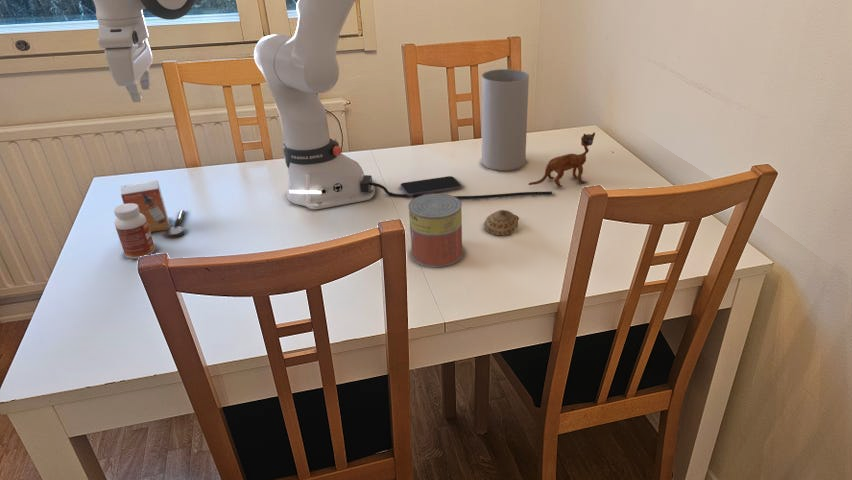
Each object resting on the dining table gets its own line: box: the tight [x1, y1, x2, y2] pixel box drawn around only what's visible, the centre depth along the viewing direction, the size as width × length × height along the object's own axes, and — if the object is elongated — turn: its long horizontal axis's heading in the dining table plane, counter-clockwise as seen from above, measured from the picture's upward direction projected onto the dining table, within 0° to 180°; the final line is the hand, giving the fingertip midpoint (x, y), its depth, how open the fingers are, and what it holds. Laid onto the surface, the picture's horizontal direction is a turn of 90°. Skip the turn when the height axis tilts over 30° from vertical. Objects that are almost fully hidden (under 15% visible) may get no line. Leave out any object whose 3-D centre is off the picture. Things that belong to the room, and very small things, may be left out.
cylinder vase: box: [481, 68, 530, 172], centre depth 179 cm, size 12×12×25 cm
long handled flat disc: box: [164, 209, 185, 239], centre depth 154 cm, size 13×4×1 cm, turn 13°
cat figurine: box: [527, 131, 596, 188], centre depth 170 cm, size 18×7×14 cm, turn 109°
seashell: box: [483, 209, 520, 236], centre depth 152 cm, size 8×6×8 cm
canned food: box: [407, 192, 464, 268], centre depth 139 cm, size 11×11×12 cm
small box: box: [120, 179, 171, 233], centre depth 150 cm, size 8×6×10 cm
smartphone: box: [400, 175, 462, 196], centre depth 171 cm, size 7×1×15 cm
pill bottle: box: [113, 203, 156, 260], centre depth 140 cm, size 6×6×11 cm
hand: (142, 94), depth 144 cm, fingers open, 8 cm apart
